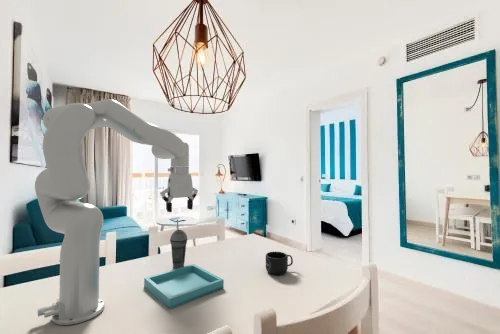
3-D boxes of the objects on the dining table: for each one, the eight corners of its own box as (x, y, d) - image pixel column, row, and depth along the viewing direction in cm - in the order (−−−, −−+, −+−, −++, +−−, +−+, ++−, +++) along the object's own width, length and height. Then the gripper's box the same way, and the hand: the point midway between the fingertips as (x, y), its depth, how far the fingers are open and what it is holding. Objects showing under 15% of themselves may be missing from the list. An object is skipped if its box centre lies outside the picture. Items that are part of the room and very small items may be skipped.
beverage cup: (176, 271, 104) (177, 222, 104) (166, 266, 108) (166, 220, 108) (190, 265, 110) (191, 219, 110) (180, 262, 114) (180, 217, 114)
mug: (271, 278, 98) (271, 259, 98) (262, 269, 106) (262, 252, 106) (298, 274, 102) (298, 256, 102) (287, 266, 110) (287, 249, 111)
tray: (169, 309, 75) (170, 299, 75) (144, 286, 90) (144, 278, 90) (223, 288, 89) (223, 279, 89) (193, 271, 104) (193, 263, 104)
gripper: (164, 171, 101) (164, 214, 101) (201, 170, 113) (201, 209, 113) (156, 171, 106) (156, 211, 106) (192, 170, 118) (192, 207, 118)
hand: (179, 210), depth 109 cm, fingers open, 9 cm apart
